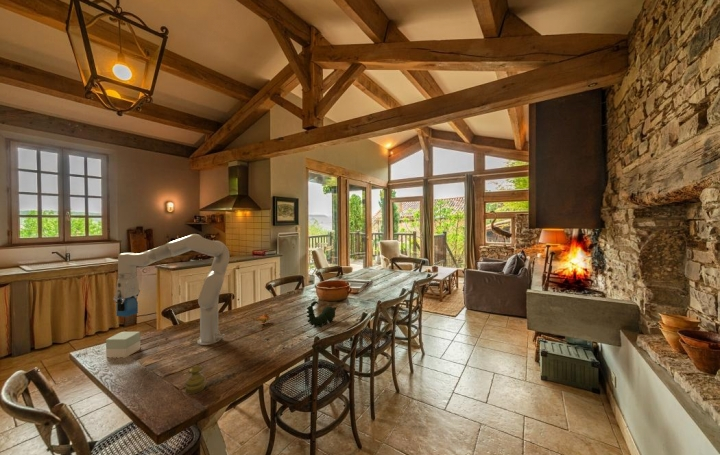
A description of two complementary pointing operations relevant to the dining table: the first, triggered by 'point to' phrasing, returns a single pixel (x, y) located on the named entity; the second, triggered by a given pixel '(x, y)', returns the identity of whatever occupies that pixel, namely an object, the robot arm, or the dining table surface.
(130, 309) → the perfume bottle
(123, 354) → the bottom block
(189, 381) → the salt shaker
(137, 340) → the top block
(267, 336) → the dining table surface
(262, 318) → the magic lamp
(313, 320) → the toy figurine
